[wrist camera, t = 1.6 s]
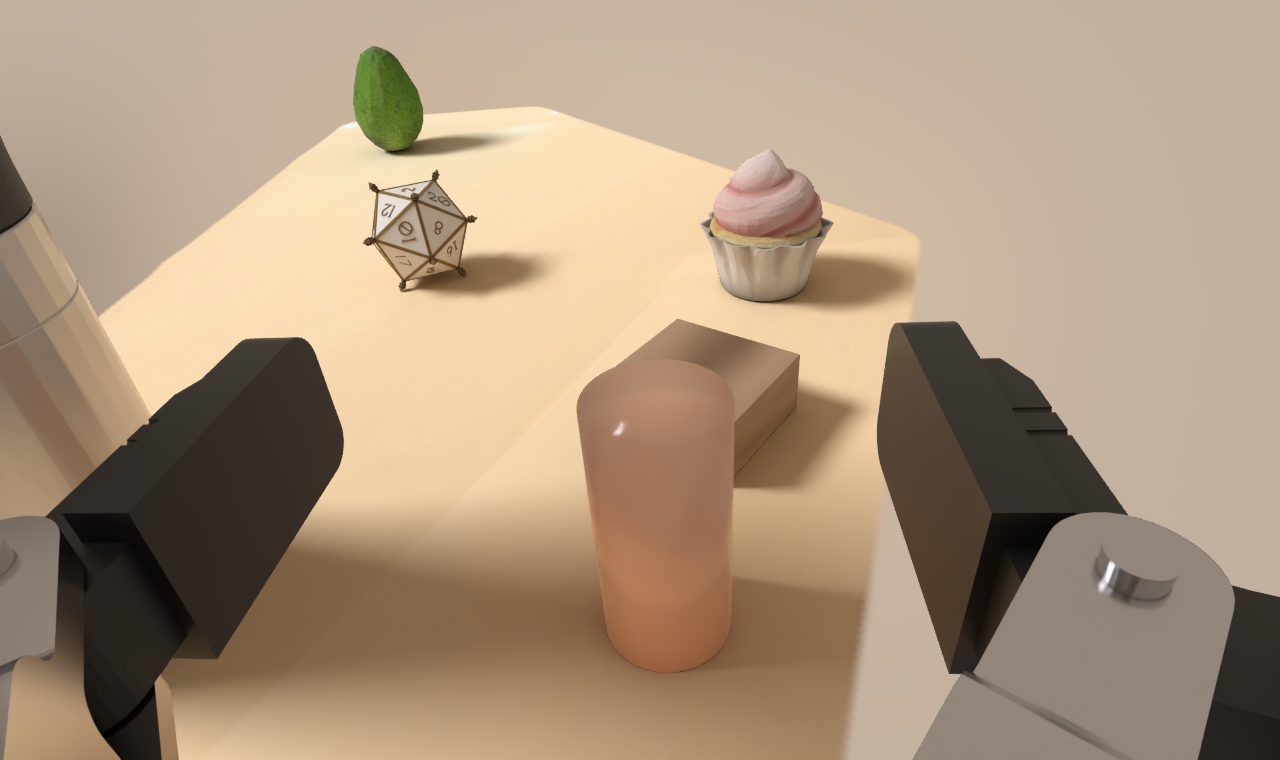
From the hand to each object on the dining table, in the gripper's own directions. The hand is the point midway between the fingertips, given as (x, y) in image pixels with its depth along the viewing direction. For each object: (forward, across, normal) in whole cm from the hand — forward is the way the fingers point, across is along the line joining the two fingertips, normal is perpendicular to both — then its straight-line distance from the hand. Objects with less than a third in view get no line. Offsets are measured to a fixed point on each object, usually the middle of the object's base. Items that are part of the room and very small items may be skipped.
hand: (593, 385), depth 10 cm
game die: (+44, +21, +19) cm, 52 cm away
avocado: (+82, +36, +18) cm, 91 cm away
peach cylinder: (+11, 0, +19) cm, 22 cm away
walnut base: (+25, -1, +19) cm, 31 cm away
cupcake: (+42, -6, +19) cm, 46 cm away
